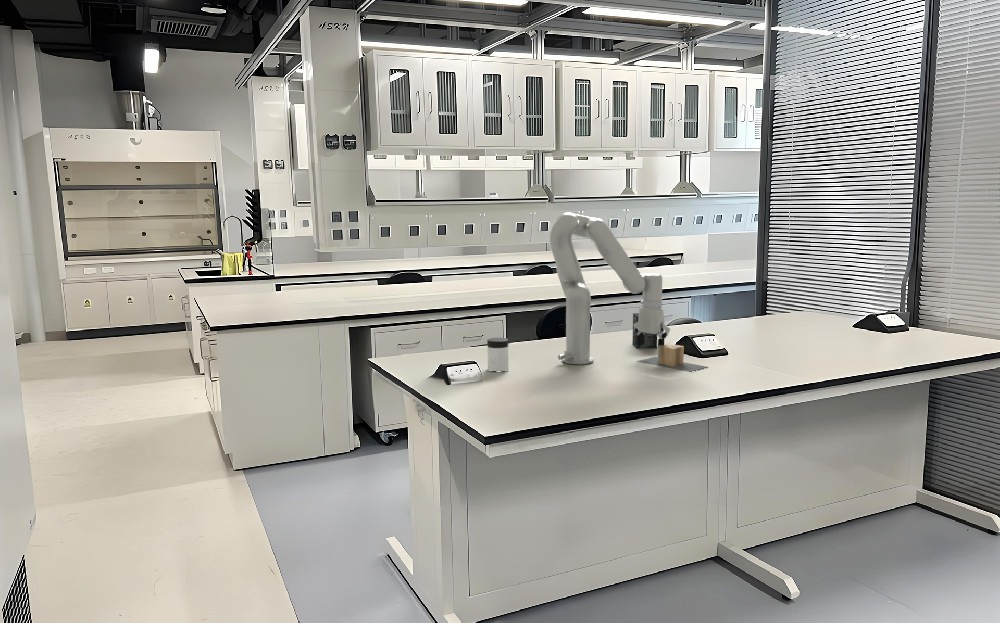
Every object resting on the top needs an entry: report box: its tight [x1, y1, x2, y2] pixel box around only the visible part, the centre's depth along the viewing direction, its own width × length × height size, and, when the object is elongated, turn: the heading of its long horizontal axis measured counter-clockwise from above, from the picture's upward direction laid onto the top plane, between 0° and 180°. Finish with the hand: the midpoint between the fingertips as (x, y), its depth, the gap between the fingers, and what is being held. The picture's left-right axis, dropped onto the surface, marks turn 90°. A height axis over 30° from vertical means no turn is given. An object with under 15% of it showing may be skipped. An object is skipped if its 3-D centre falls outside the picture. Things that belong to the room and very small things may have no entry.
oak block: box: [657, 343, 685, 367], centre depth 274 cm, size 7×7×7 cm
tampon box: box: [631, 312, 658, 350], centre depth 308 cm, size 11×9×15 cm
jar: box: [486, 337, 509, 372], centre depth 268 cm, size 9×8×12 cm
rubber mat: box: [636, 356, 709, 373], centre depth 274 cm, size 12×25×1 cm, turn 40°
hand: (650, 346), depth 280 cm, fingers open, 9 cm apart
